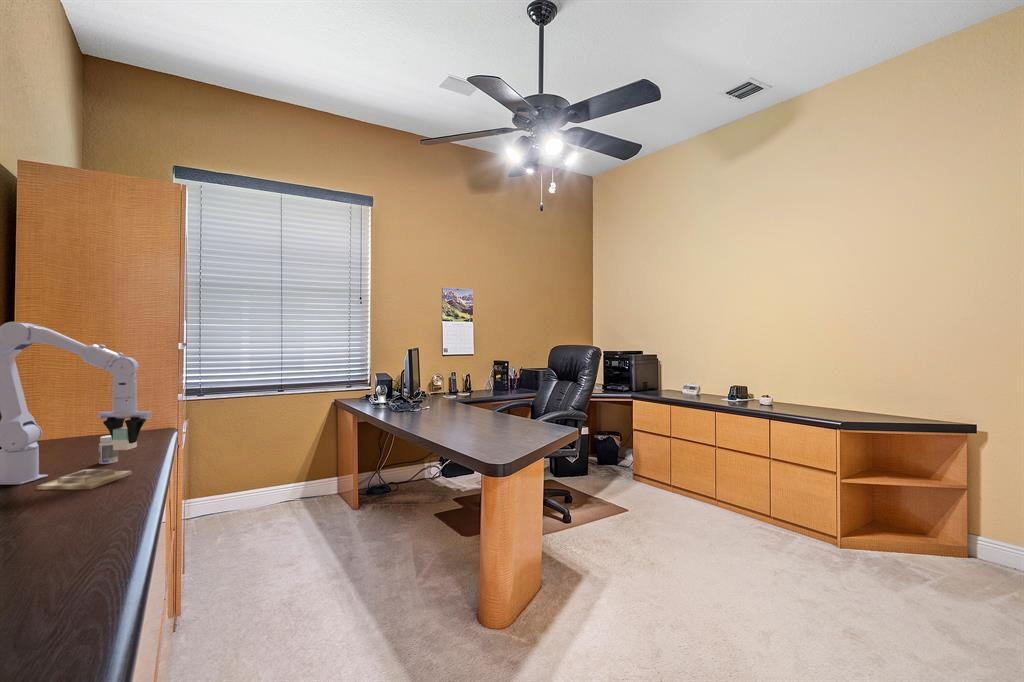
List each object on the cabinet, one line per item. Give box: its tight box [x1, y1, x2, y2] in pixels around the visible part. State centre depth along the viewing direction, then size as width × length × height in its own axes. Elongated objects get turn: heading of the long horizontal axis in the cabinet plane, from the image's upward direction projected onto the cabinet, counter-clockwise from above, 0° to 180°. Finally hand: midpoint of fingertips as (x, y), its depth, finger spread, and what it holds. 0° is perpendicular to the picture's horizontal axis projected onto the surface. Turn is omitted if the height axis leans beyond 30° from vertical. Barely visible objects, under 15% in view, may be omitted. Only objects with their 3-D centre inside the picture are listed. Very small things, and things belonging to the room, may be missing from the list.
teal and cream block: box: [113, 426, 138, 451], centre depth 145 cm, size 4×4×6 cm
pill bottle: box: [98, 434, 119, 465], centre depth 155 cm, size 5×5×8 cm
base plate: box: [36, 468, 133, 491], centre depth 134 cm, size 14×14×2 cm
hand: (125, 442), depth 145 cm, fingers closed on teal and cream block, 4 cm apart
